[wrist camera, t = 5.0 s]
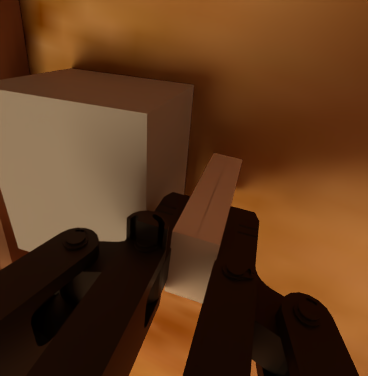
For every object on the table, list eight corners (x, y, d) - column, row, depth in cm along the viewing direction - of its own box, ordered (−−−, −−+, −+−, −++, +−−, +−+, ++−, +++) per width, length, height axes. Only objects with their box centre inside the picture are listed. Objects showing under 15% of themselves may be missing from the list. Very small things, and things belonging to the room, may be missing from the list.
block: (71, 68, 15) (-31, 84, 10) (194, 84, 14) (147, 113, 9) (86, 192, 19) (18, 248, 14) (182, 214, 18) (145, 286, 13)
